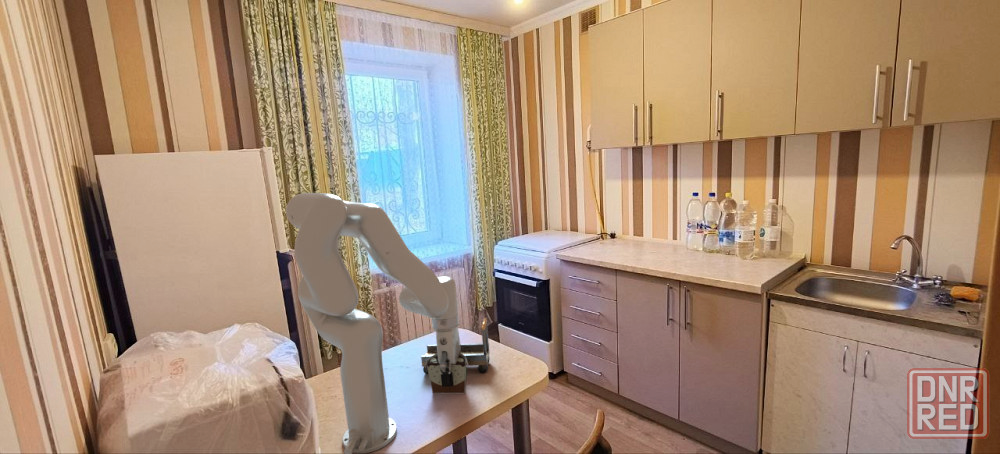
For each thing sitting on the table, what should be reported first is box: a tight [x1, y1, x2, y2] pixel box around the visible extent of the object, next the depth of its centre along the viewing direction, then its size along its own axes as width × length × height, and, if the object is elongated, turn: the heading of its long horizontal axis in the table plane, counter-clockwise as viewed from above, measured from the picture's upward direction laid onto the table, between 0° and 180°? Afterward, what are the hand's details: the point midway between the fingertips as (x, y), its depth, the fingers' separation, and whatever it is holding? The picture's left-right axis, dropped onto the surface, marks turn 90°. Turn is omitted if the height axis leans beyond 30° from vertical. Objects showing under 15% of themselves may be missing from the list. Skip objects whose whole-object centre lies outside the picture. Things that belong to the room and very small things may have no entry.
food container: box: [425, 353, 469, 395], centre depth 121 cm, size 12×6×10 cm, turn 84°
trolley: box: [420, 317, 491, 375], centre depth 132 cm, size 8×20×15 cm, turn 86°
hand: (451, 376), depth 122 cm, fingers open, 9 cm apart
